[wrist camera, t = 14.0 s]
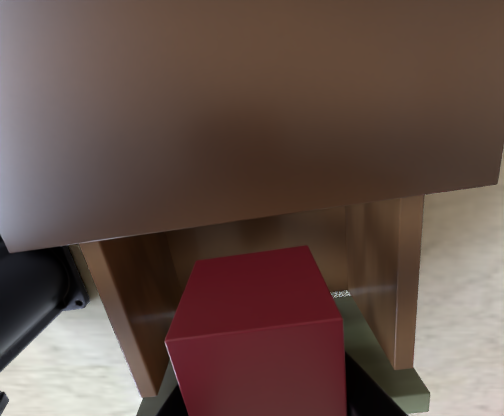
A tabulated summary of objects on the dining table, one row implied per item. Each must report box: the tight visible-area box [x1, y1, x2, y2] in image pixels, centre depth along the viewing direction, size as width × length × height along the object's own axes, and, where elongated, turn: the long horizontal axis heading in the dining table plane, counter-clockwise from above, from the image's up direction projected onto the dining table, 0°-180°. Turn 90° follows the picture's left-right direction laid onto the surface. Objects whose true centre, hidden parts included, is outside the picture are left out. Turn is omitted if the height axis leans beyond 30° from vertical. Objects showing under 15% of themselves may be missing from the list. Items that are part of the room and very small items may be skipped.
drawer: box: [79, 195, 430, 416], centre depth 14 cm, size 17×13×7 cm
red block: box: [165, 245, 348, 416], centre depth 8 cm, size 6×4×3 cm, turn 8°
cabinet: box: [0, 0, 504, 253], centre depth 9 cm, size 14×15×9 cm
